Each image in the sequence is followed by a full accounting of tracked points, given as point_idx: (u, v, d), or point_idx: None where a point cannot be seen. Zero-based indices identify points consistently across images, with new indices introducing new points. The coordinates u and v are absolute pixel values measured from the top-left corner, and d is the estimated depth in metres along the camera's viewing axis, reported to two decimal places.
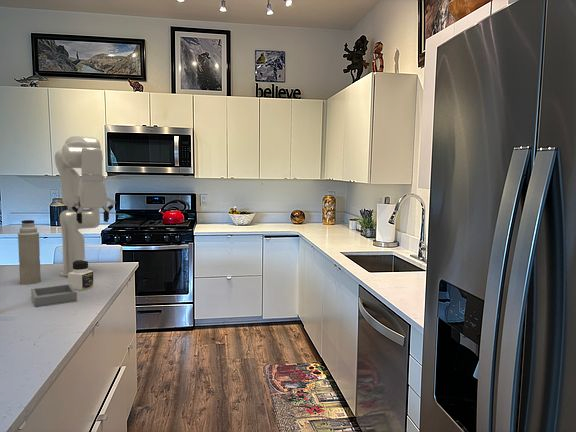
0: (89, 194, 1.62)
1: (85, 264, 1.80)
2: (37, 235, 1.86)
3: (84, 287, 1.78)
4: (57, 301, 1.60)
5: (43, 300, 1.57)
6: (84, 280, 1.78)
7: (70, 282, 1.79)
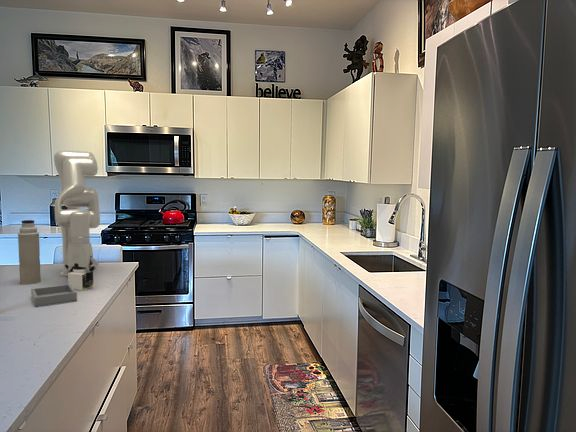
0: None
1: None
2: (37, 235, 1.86)
3: (84, 287, 1.78)
4: (57, 301, 1.60)
5: (43, 300, 1.57)
6: (84, 280, 1.78)
7: (70, 282, 1.79)
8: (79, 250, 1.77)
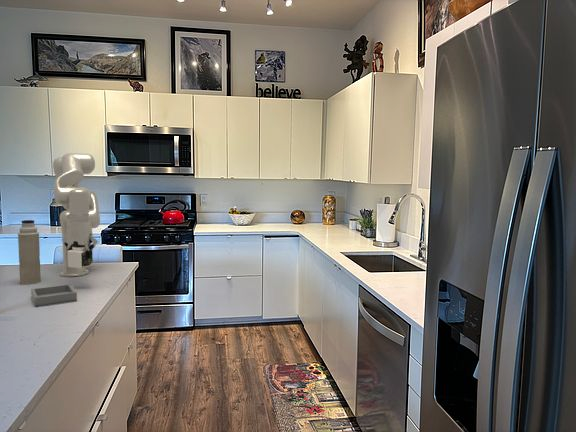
0: None
1: None
2: (37, 235, 1.86)
3: (83, 265, 1.78)
4: (57, 301, 1.60)
5: (43, 300, 1.57)
6: (83, 258, 1.78)
7: (69, 260, 1.78)
8: (79, 227, 1.76)
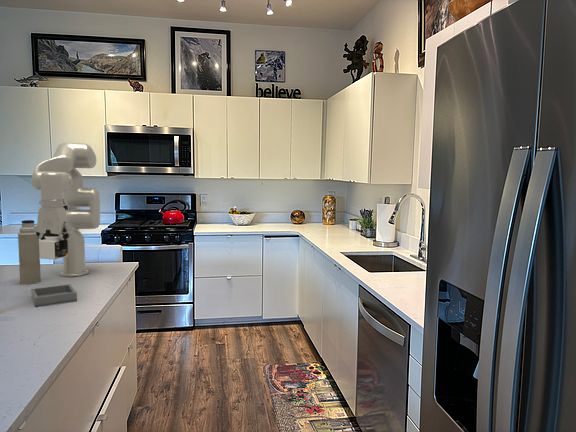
0: None
1: None
2: None
3: (56, 256, 1.61)
4: (57, 301, 1.60)
5: (43, 300, 1.57)
6: (57, 248, 1.61)
7: (41, 251, 1.61)
8: (51, 214, 1.59)
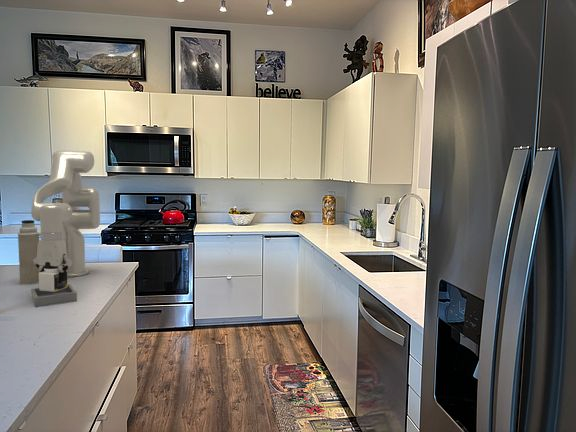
0: None
1: None
2: (37, 235, 1.86)
3: (56, 289, 1.61)
4: (57, 301, 1.60)
5: (43, 300, 1.57)
6: (56, 281, 1.61)
7: (41, 283, 1.61)
8: (51, 247, 1.60)
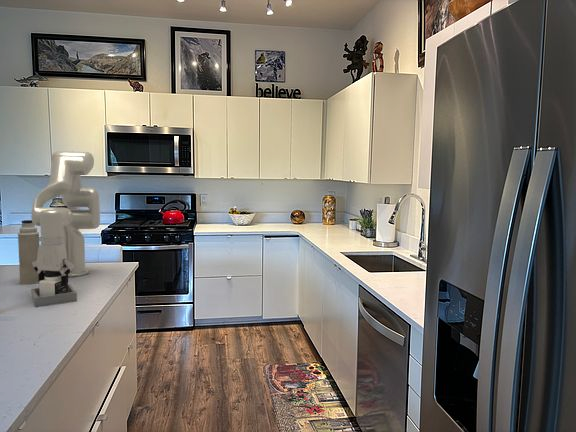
0: None
1: (58, 271, 1.63)
2: (37, 235, 1.86)
3: None
4: (57, 301, 1.60)
5: (43, 300, 1.57)
6: (57, 289, 1.62)
7: (41, 291, 1.62)
8: (51, 252, 1.60)
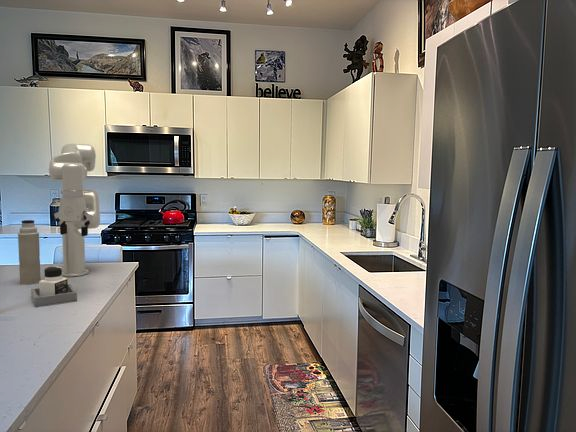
0: None
1: (58, 271, 1.63)
2: (37, 235, 1.86)
3: None
4: (57, 301, 1.60)
5: (43, 300, 1.57)
6: (57, 289, 1.62)
7: (41, 291, 1.62)
8: (72, 204, 1.69)
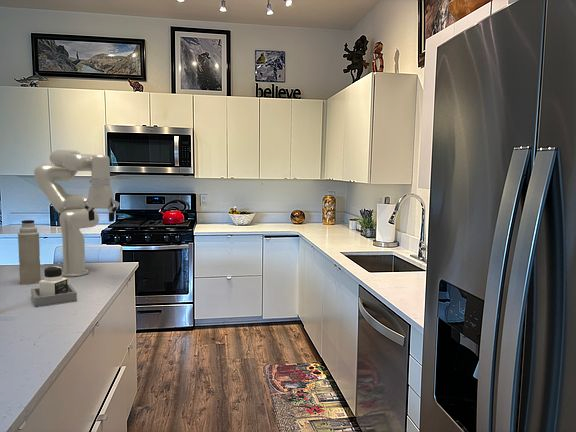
0: None
1: (58, 271, 1.63)
2: (37, 235, 1.86)
3: None
4: (57, 301, 1.60)
5: (43, 300, 1.57)
6: (57, 289, 1.62)
7: (41, 291, 1.62)
8: (101, 191, 1.84)
